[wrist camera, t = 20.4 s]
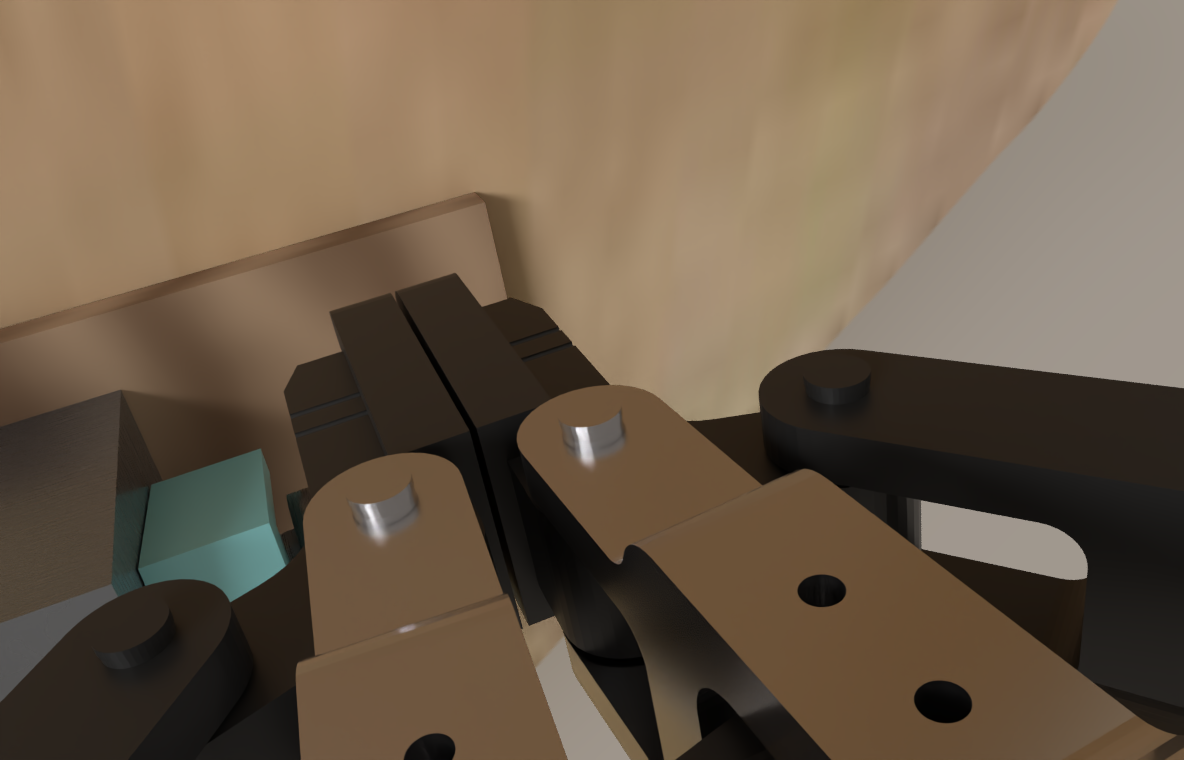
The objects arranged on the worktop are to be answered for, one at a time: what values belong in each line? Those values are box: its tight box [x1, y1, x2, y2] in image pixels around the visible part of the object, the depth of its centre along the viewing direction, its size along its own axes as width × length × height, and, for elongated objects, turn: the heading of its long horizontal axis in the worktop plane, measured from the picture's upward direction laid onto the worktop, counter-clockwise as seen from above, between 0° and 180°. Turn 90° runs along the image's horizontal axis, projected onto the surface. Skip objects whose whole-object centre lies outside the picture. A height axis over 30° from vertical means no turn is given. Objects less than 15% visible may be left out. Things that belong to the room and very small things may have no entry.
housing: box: [0, 390, 163, 702], centre depth 35 cm, size 6×10×12 cm, turn 11°
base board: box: [0, 192, 507, 533], centre depth 42 cm, size 26×16×2 cm, turn 101°
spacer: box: [138, 448, 290, 602], centre depth 36 cm, size 4×6×7 cm
